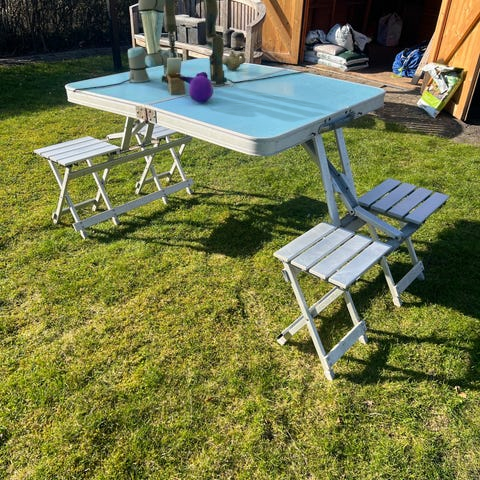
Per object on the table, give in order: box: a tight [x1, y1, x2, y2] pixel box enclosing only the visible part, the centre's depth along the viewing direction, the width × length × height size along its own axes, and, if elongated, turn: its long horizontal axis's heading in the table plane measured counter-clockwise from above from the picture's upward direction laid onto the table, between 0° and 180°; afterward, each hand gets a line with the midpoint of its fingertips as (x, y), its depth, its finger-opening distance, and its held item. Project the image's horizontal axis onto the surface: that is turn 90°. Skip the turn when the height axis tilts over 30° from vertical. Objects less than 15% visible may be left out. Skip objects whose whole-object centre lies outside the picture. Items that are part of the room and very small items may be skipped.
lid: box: [167, 48, 183, 74], centre depth 299 cm, size 17×9×9 cm
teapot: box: [223, 50, 246, 71], centre depth 368 cm, size 21×12×15 cm, turn 120°
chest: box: [167, 73, 186, 96], centre depth 302 cm, size 16×9×10 cm, turn 15°
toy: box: [178, 71, 214, 104], centre depth 278 cm, size 16×18×27 cm
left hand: (175, 81), depth 305 cm, fingers closed on chest, 9 cm apart
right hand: (172, 52), depth 294 cm, fingers closed on lid, 2 cm apart
